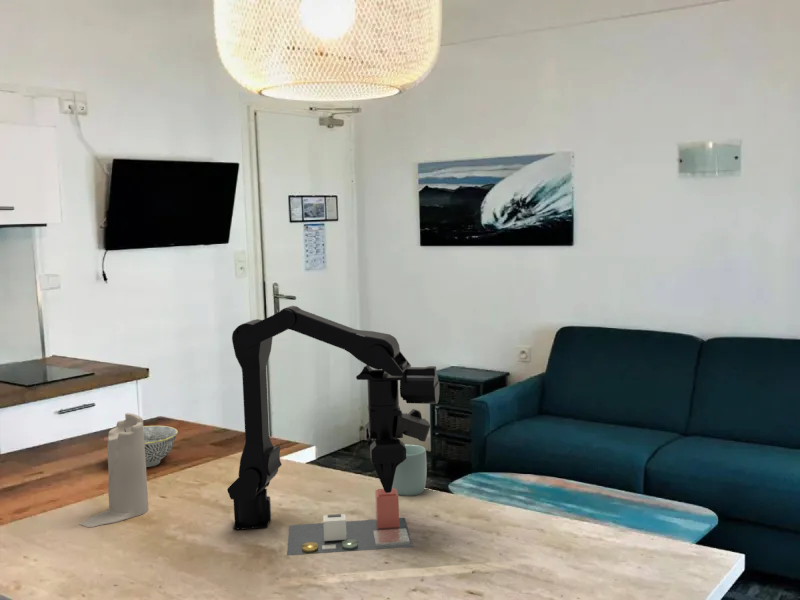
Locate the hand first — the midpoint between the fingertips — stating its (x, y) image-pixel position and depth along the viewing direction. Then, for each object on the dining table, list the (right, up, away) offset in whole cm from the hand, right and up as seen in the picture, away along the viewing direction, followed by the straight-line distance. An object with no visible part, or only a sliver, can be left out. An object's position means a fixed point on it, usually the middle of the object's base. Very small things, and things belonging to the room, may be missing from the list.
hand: (385, 484), depth 156 cm
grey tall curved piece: (-55, -10, +12) cm, 57 cm away
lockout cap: (0, -8, +1) cm, 8 cm away
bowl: (-60, -6, +48) cm, 77 cm away
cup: (+4, -7, +19) cm, 21 cm away
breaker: (-9, -8, -6) cm, 14 cm away
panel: (-7, -10, -4) cm, 12 cm away
